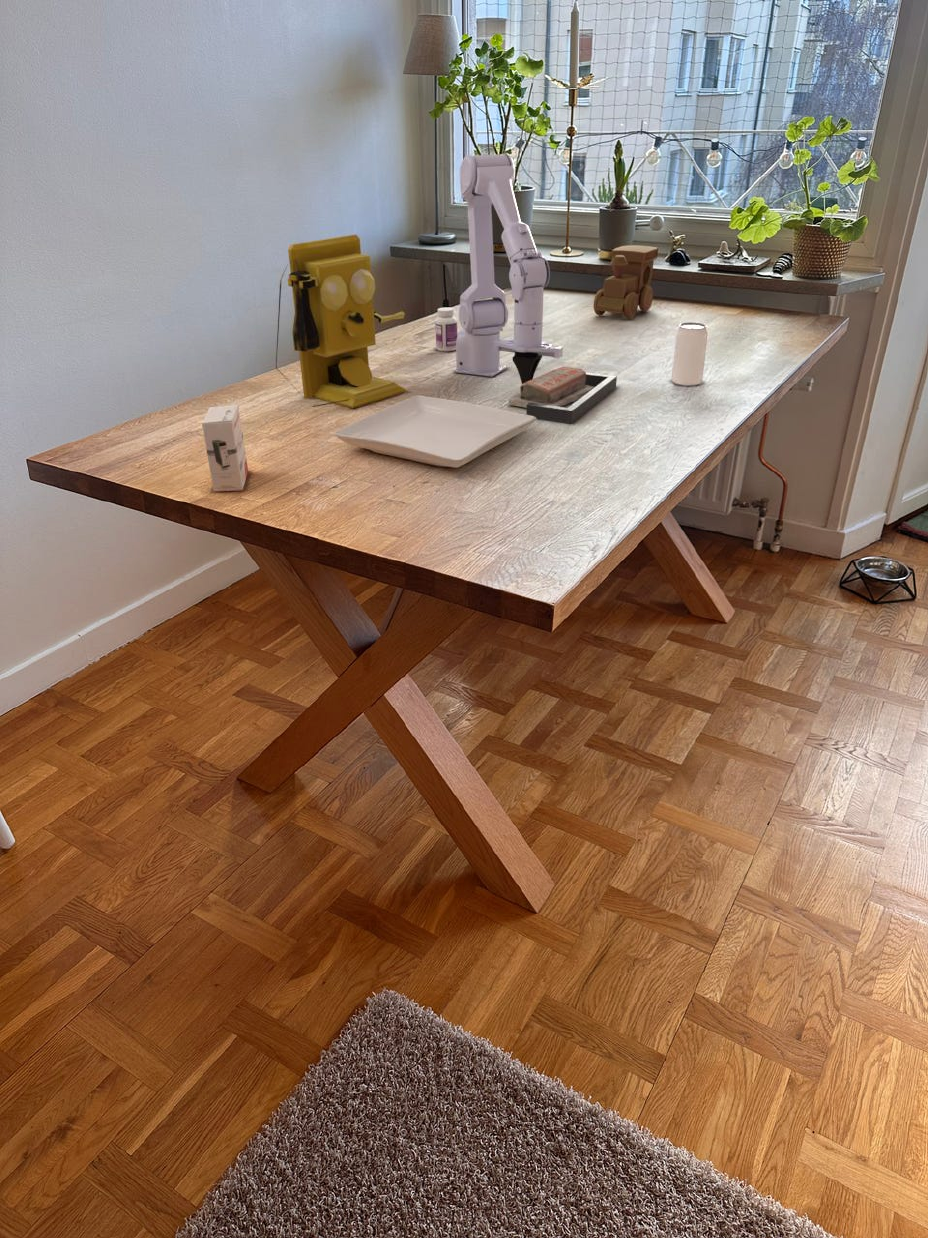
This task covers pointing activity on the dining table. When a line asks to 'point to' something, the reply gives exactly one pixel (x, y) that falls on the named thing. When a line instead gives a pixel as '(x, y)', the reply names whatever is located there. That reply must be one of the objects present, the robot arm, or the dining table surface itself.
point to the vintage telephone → (335, 321)
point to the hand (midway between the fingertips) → (526, 388)
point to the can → (689, 354)
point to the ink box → (225, 448)
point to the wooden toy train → (628, 282)
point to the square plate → (434, 430)
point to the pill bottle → (446, 330)
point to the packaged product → (553, 388)
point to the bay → (576, 410)
